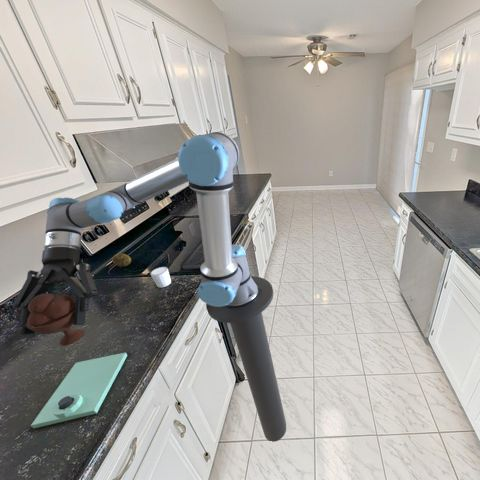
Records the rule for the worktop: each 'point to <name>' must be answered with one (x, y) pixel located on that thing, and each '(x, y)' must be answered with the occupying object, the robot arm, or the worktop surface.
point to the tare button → (65, 402)
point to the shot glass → (161, 276)
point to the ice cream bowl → (54, 316)
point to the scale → (82, 390)
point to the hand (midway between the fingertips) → (53, 329)
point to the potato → (121, 260)
